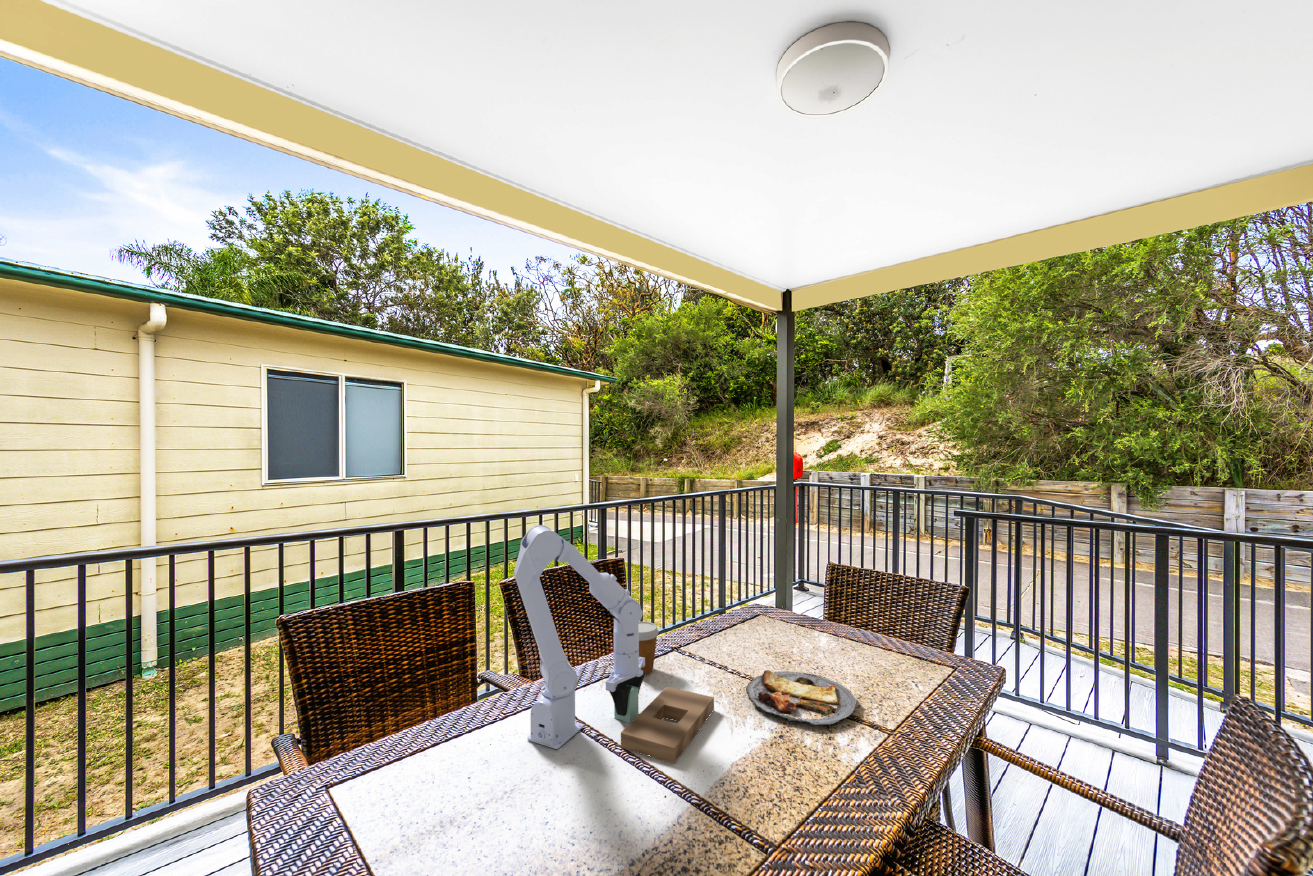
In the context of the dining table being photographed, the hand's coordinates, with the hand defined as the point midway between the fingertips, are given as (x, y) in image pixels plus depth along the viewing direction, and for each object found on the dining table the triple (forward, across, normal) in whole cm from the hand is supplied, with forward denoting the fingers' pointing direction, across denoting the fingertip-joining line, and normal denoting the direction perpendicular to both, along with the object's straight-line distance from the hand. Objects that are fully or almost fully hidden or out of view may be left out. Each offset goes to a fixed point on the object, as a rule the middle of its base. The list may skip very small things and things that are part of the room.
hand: (626, 709), depth 114 cm
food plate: (+2, +24, -34) cm, 42 cm away
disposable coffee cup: (+2, +22, +8) cm, 23 cm away
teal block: (+1, 0, 0) cm, 1 cm away
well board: (+1, 0, -11) cm, 11 cm away
